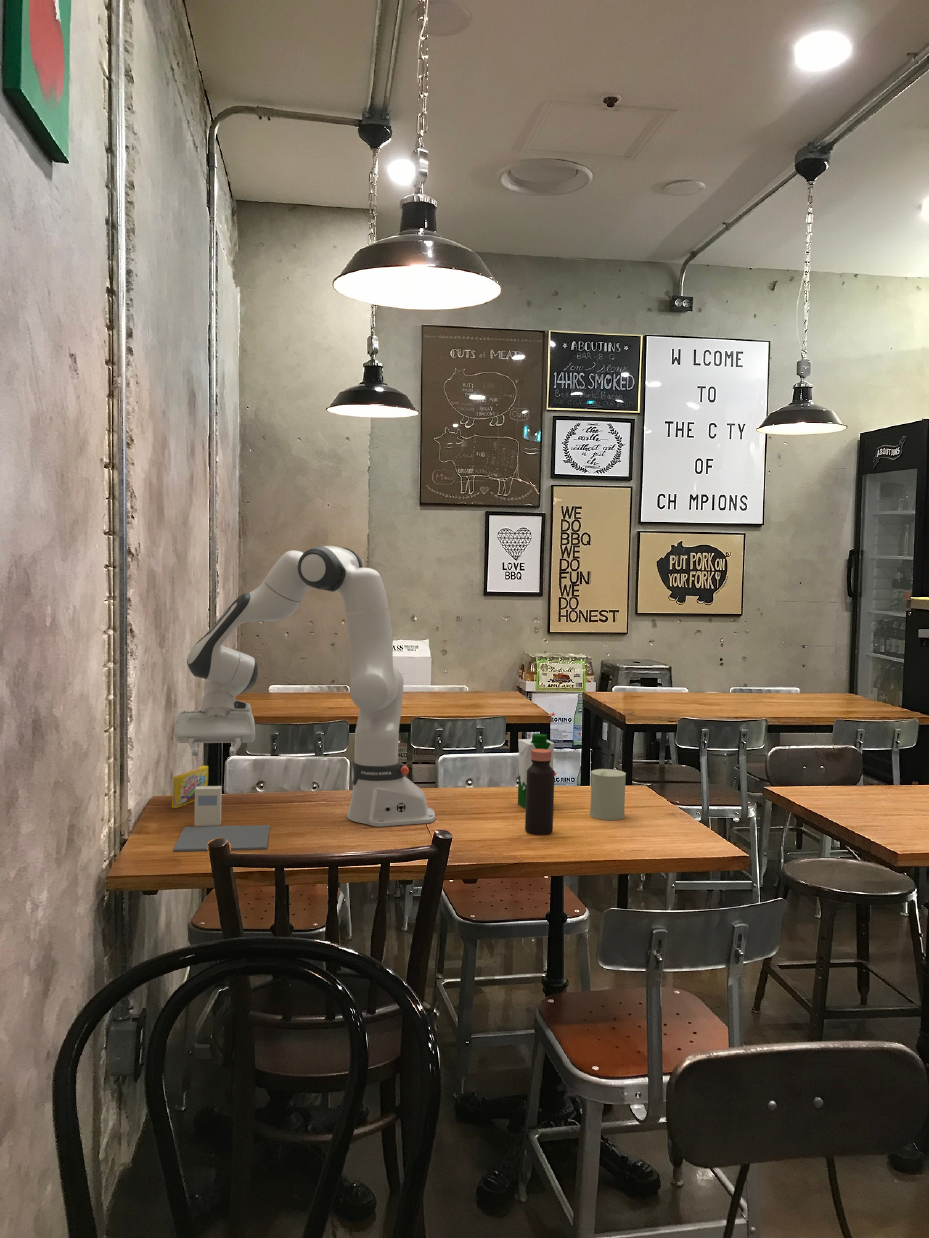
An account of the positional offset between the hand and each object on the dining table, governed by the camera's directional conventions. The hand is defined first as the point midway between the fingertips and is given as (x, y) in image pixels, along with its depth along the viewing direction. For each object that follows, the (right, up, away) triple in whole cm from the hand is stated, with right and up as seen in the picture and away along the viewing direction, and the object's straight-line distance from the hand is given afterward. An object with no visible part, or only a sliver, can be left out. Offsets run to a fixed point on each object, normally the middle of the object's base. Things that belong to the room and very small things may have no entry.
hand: (213, 754), depth 230 cm
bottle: (+83, -18, -10) cm, 85 cm away
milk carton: (+83, -17, +15) cm, 86 cm away
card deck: (+2, -15, -11) cm, 19 cm away
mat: (+9, -16, -23) cm, 29 cm away
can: (+102, -17, +7) cm, 104 cm away
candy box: (-9, -14, +11) cm, 20 cm away
